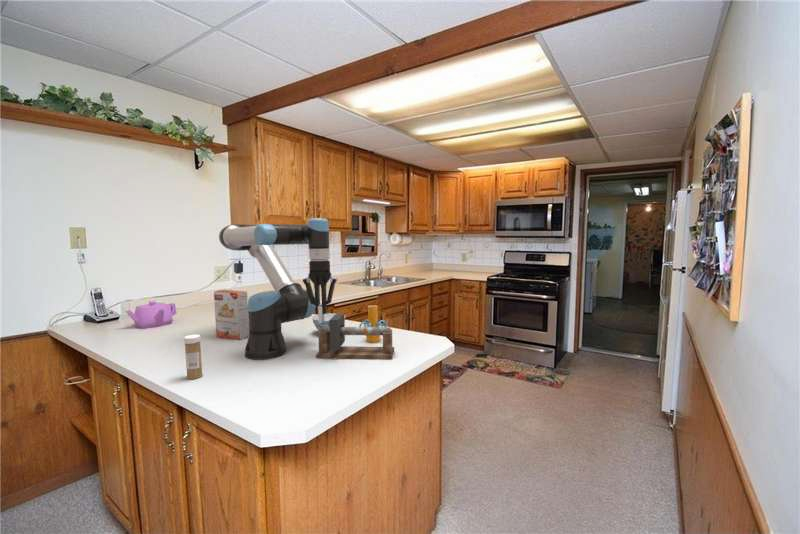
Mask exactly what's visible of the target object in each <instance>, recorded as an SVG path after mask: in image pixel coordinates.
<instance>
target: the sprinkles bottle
mask: <svg viewBox="0 0 800 534" xmlns="http://www.w3.org/2000/svg"><path fill="white" fill-rule="evenodd" d="M201 340H202V339H201V335H200V334H189V335H186V336H184V337H183V343H184V348H185V350H184V351H185V354H184V355H185V366H186V367H185V368H186V378H187V379H189V380H195V379H199V378H202V377H203V361H202V351H201V350H202V349H201Z"/></svg>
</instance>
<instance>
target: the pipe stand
mask: <svg viewBox="0 0 800 534" xmlns="http://www.w3.org/2000/svg"><path fill="white" fill-rule="evenodd" d="M317 334H318V352H316V354H315V359H325V358H327V359H329V358H330V359H331V360H332V359H334V358H336V359H335V360H337V359H338V360H339V359H340V360H391V359H393V356H394V352H395V347H394V346H393V329H392V328H391V327H389V326H388V327H387V326H386V327H384V326H383V327H381V326H379V327H364V326H363V327H362V326H361V327H359V326H345V327H340V335H345V336H365V337H366V336H368V335H380V336H382V346H352V345H349V346H348V345H347V346H345V345H343V346H341V347H340V348H339V350H330V327H321V331H319V332H318V333H317Z"/></svg>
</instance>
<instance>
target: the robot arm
mask: <svg viewBox="0 0 800 534" xmlns="http://www.w3.org/2000/svg"><path fill="white" fill-rule="evenodd" d="M218 239H219V243H220V244H221V245H222V246H223V247H224V248H226V249H227V250H228V249H229V250H230V251H236V252H237V251H248V253H249V255H250V256H251V257H252V258H256V260H257V262H258V263H259V265H260V267H261V268H262V270H263V272H264V273H265V276H266V277H267V279H268V281H269V282H270V284H271V286H272V288H273V289H274V290H269V291H266V290H265V291H261V292H257V293H255V294H254V293H253V295H251V296H250V297H249V298H247V302H248V308H247V309H248V323H249V337H247V342H246V345H245V349H244V356H245V357H246V358H247V359H250V360H268V359H274V358H277V357H281V356H282V355H285V354H286V353H287V352H288V347H287V345H288V344H287V343H286V340H285V337H284V335H283V331H282V324H284V323H291V322H294V321H299V320H305V319H308V318H310V317H313V314H314V312H315V314H316V315H318V323H323V322H324V314H327V309H328V308H327V305H329V304H331V303H332V300H333V295H334V291H335V285H336V283H337V282H338V278H337V277H334V276H333V274H332V273H331V262H330V260H329V259H331V257H330V256H331V254H330V227H329V220H328V218H323V217H322V218H320V217H319V218H317V217H314V218H312V217H311V218H308V220H307V224H287V223H285V224H280V223H279V224H277V223H273V224H272V223H260V224H244V223H243V224H240V223H239V224H238V223H237V224H235V223H234V224H230V225H226V226H224V227H223V228H222V229H221V230H220V232H219V233H218ZM277 245H308V259H309V263H308V264H309V265H308V266H309V267H308V269H309V270H308V271H309V273H308V276H307V277H305V278H304V279H302V282H303V284H304V286H305V289H304V288H303V286H302V285H301V283H299V282H295V280H294V279H293V277H292V276H291V274H290V272H289V270H288V269H287V268H286V266H285V264H284V263H283V261H282V259H281V258H280V256H279V254H278V253H277V251H276V249H275V247H276V246H277ZM311 282H312V284H313V288H314V291H313V288H312V285H311ZM328 282H330V284H329V288H328V294H327V284H328ZM320 288H321V289H320ZM320 292H321V293H320ZM320 296H321V297H320Z"/></svg>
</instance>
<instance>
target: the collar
mask: <svg viewBox="0 0 800 534" xmlns="http://www.w3.org/2000/svg"><path fill="white" fill-rule="evenodd" d="M344 315H345V313H336V315H335V316H333V317H332V318H331V319H330V320H329V322H330V350H339V348H340V347H341V346H342V345H344V343H345V341H346V335H340V327H346V326H345V321H346V320H345V321H344Z"/></svg>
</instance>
